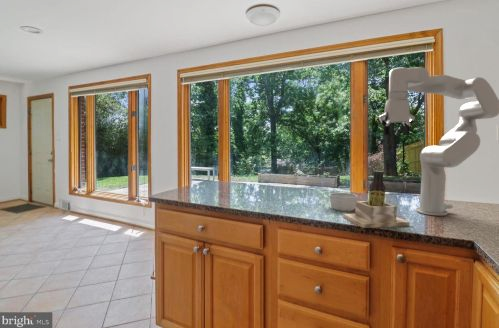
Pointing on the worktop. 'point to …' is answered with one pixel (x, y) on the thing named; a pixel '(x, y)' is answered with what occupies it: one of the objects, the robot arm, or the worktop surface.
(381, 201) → the sauce bottle
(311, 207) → the worktop surface
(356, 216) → the bottle caddy
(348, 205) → the ramekin
